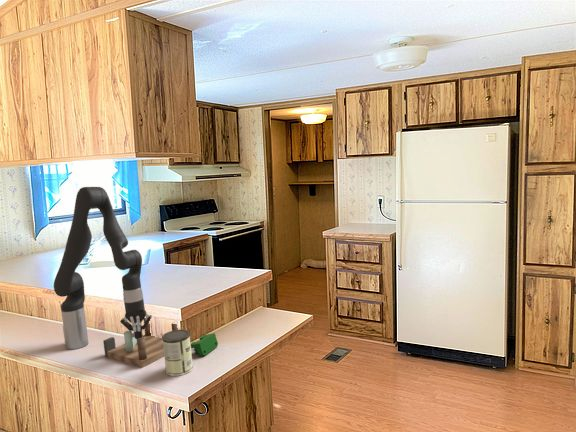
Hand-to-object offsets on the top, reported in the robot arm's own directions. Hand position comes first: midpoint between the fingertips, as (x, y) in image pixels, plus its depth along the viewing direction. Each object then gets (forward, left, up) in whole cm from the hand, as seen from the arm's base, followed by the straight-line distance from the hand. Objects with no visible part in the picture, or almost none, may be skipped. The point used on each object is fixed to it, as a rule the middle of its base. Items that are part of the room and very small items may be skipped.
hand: (139, 339), depth 185 cm
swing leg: (-7, +2, -4) cm, 8 cm away
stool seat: (-1, +4, -7) cm, 8 cm away
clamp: (+22, +15, -8) cm, 27 cm away
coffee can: (+25, -2, -7) cm, 26 cm away
